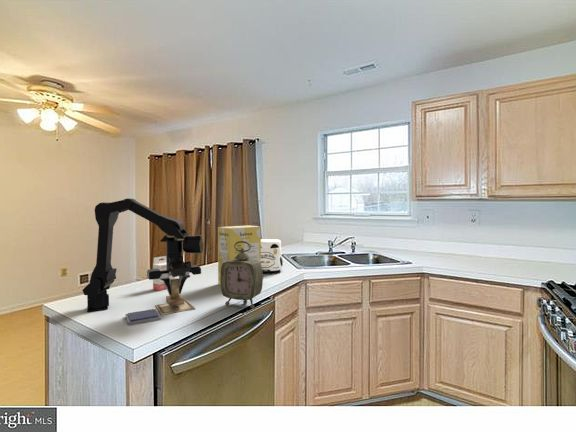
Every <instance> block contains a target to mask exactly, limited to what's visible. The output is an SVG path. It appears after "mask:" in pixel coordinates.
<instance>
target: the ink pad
mask: <svg viewBox="0 0 576 432" xmlns="http://www.w3.org/2000/svg"><path fill="white" fill-rule="evenodd" d="M161 316H162V315H161V314H160V312H159V310H158V309H157V308H153V309H147V310H146V309H145V310H140V311H134V312H133V311H132V312H128V313H125V320H126V324H127V325H128V326H133V325H138V324H144V323H150V322H154V321H161V320H162V317H161Z"/></svg>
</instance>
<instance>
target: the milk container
mask: <svg viewBox="0 0 576 432" xmlns="http://www.w3.org/2000/svg"><path fill="white" fill-rule="evenodd" d="M283 262H284V261H283V258H282V241H281V240H280V239H275V238H272V239H271V238H270V239H269V238H263V239H262V238H261V265H262V271H263V273H276V272H280V271H281V270H282V269H283V266H284V265H283V264H284V263H283Z"/></svg>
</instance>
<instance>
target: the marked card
mask: <svg viewBox="0 0 576 432" xmlns="http://www.w3.org/2000/svg"><path fill="white" fill-rule="evenodd" d="M155 307H156V310H157V311H158V313H159V314H160V316H163V315H170V314H175V313H181V312H187V311H192V310H196V306H194V305H193V304H192V303H191V302H190V301H189V300H187V299H184V304H182V305H176V306H169V304H168V303H167V302H165V303H160V304H159V303H158V304H155Z"/></svg>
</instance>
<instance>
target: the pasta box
mask: <svg viewBox="0 0 576 432" xmlns="http://www.w3.org/2000/svg"><path fill="white" fill-rule="evenodd" d="M261 227H262V226H261V225H260V226H259V225H258V226H257V225H234V226H232V225H231V226H218V227H217V267H218V269H217V271H218V272H217V274H218V276H217V277H218V278H217V279H218V280H217V281H218V282H217V283H218V285H219V284H220V286H221V280H220V277H221V267H222V264H223V263H225V262H227V261H230V260H233V259H236V256H237V254H239V253H241V252H239V251H237V250H236V249H238V250H241V248H243V249H244V250H248V249H249V248H250V247H249V245H248V244H246V243H238V244H236V246H235V247H236V249H235V248H234V245H235V243H236V242H238V241H245V242H248V243H249V244H250V246H251V248H250V250H249V251H247V252H244V253H246V254H247V255H248V256H249V259H254V260H258V261H259V262H260V263H261V239H262V238H261V237H262V228H261Z"/></svg>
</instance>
